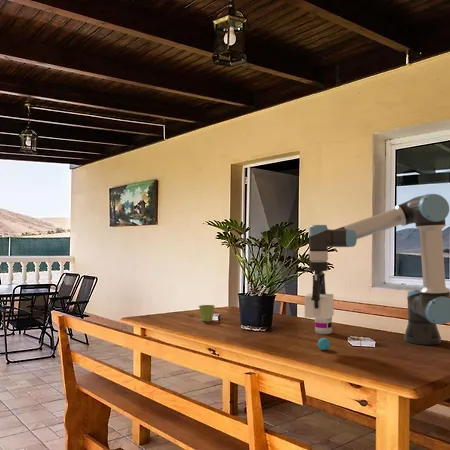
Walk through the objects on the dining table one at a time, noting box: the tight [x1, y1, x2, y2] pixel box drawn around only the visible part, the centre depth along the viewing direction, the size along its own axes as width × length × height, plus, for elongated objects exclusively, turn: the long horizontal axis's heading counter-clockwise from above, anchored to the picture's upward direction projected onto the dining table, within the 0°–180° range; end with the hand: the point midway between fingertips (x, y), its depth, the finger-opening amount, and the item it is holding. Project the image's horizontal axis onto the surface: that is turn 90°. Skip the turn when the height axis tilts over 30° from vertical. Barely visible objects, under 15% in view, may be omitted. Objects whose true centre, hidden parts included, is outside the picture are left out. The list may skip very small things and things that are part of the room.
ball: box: [317, 337, 331, 351], centre depth 195 cm, size 5×5×5 cm
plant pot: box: [198, 304, 216, 323], centre depth 269 cm, size 9×9×9 cm
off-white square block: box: [303, 293, 335, 319], centre depth 197 cm, size 10×10×9 cm
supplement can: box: [314, 316, 333, 335], centre depth 232 cm, size 8×8×15 cm
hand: (319, 314), depth 197 cm, fingers closed on off-white square block, 10 cm apart
